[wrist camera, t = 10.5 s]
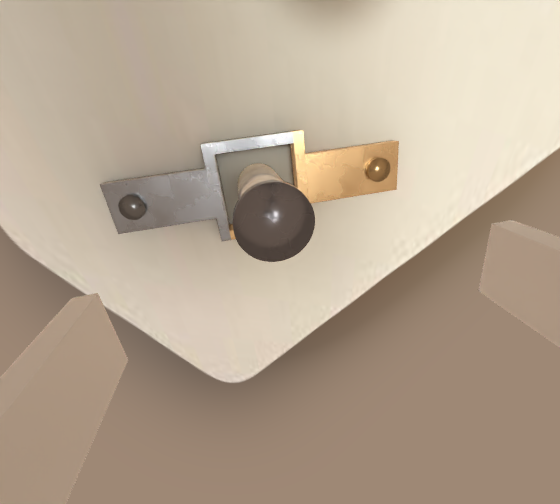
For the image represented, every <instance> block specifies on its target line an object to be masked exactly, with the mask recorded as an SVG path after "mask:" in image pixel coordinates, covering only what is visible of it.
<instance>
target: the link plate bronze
mask: <svg viewBox="0 0 560 504" xmlns="http://www.w3.org/2000/svg"><path fill="white" fill-rule="evenodd" d="M291 132H293V139H294V143H291V144H290V146H291V156H292V166H293V176H294V186H295V187H296V188H298V189H299V190H300V191H301V192H302V193H303V194H304V195H305V196H306V197H307V199H308V200H309V202H310V203H315V202H321V201H328V200H334V199H340V198H346V197H353V196H359V195H365V194H372V193H378V192H384V191H390V190H396V188H397V167H398V145H399V141H386V142H379V143H372V144H366V145H359V146H352V147H345V148H338V149H331V150H324V151H317V152H310V153H305V146H304V134H303V130H295V131H291ZM229 231H230V236H231V240H232V239H236V238H235V235H234V231H233V224H231V225H230V228H229Z"/></svg>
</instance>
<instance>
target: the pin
mask: <svg viewBox="0 0 560 504" xmlns="http://www.w3.org/2000/svg"><path fill="white" fill-rule="evenodd" d="M238 197H239V200H238V201H237V203H236V205H235V208H234V213H233V231H234V235H235V238H236V240H237V242H238V244H239V245H240V246H241V248H242V249H243V250H244V251H245V252H246V253H248V254H249V255H250V256H252V257H254V258H256V259H259V260H262V261H268V262H276V261H282V260H286V259H288V258H291V257H293V256H294V255H296V254H297V253H299V252H300V251H301V250H302V249H303V248H304V247H305V246H306V245H307V243H308V242H309V240H310V238H311V236H312V234H313V230H314V225H315V216H314V211H313V208H312V206H311V203H310V202H309V200H308V199H307V197H306V196H305V195H304V194H303V193H302V192H301V191H300V190H299V189H298V188H296V187H295V186H294V185H292V184H290V183H287V182H284V181H282V179H281V178H280V177H279V176H278V174H277V173H276V172H275V171H274V170H273V169H272V168H271V167H270V166H268V165H266V164H262V163H255V164H251V165H249V166H247V167H246V168H245V169H244V170H243V171H242V172H241V174H240V176H239V178H238Z"/></svg>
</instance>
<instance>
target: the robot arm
mask: <svg viewBox="0 0 560 504" xmlns="http://www.w3.org/2000/svg"><path fill="white" fill-rule="evenodd" d="M479 292H480V293H482V294H483V295H485V296H486V297H488V298H489V299H491V300H492V301H493V302H495V303H496V304H498V305H499V306H501V307H502V308H503V309H505V310H506V311H508V312H509V313H511V314H512V315H514V316H515V317H516V318H518V319H519V320H521V321H522V322H524V323H525V324H526V325H528V326H529V327H531V328H532V329H534V330H535V331H536V332H538V333H539V334H541V335H543V336H544V337H545V338H547V339H548V340H549V341H551V342H552V343H554V344H555V345H557V346H558V347H559V348H560V237H558V236H555V235H552V234H549V233H547V232H544V231H541V230H538V229H535V228H533V227H530V226H527V225H524V224H521V223H519V222H516V221H513V220H510V221H505V222H499V223H493V224H492V225H491V230H490V235H489V240H488V245H487V250H486V255H485V260H484V265H483V270H482V275H481V281H480V285H479ZM127 361H128V358H127V356H126V354H125V352H124V350H123V347H122V345H121V343H120V341H119V339H118V337H117V334H116V332H115V330H114V328H113V326H112V323H111V321H110V319H109V317H108V315H107V312H106V310H105V308H104V306H103V304H102V301H101V299H100V297H99V295H98V293H96V294H90V295H85V296H79V297H74V298H71V299H70V300H69V302H68V303H67V304H66V305H65V306H64V307H63V308H62V309H61V310H60V311H59V313H58V314H57V315H56V316H55V317H54V318H53V319H52V320H51V322H50V323H49V324H48V325H47V326H46V327H45V328H44V329H43V330H42V331H41V333H40V334H39V335H38V336H37V337H36V338H35V339H34V341H33V342H32V343H31V344H30V345H29V346H28V347H27V348H26V349H25V350H24V351H23V353H22V354H21V355H20V356H19V357H18V358H17V359H16V360H15V362H14V363H13V364H12V365H11V366H10V367H9V368H8V369H7V371H5V373H4V374H3V375H2V376H1V377H0V504H66V502H67V500H68V498H69V495H70V493H71V491H72V488H73V486H74V484H75V481H76V479H77V476H78V475H79V472H80V470H81V468H82V465H83V463H84V461H85V458H86V456H87V454H88V451H89V449H90V447H91V444H92V442H93V440H94V438H95V435H96V433H97V430H98V428H99V426H100V424H101V421H102V419H103V417H104V415H105V412H106V410H107V407H108V405H109V403H110V401H111V398H112V396H113V394H114V392H115V389H116V387H117V384H118V382H119V380H120V377H121V375H122V373H123V371H124V368H125V366H126V364H127Z"/></svg>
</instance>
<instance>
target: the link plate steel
mask: <svg viewBox="0 0 560 504" xmlns="http://www.w3.org/2000/svg"><path fill="white" fill-rule="evenodd" d="M291 143H294V139H293V132H291V131H287V132H280V133H273V134H266V135H258V136H251V137H244V138H237V139H229V140H222V141H215V142H207V143H202V144H201V150H202V154H203V159H204V163H205V168H200V169H193V170H186V171H179V172H172V173H165V174H158V175H151V176H145V177H138V178H131V179H124V180H117V181H110V182H104V183H102V184H100V186H101V189H102V192H103V194H104V197H105V199H106V202H107V205H108V207H109V210H110V213H111V215H112V218H113V221H114V223H115V226H116V229H117V231H118V234H121V233H128V232H134V231H140V230H146V229H153V228H159V227H165V226H171V225H178V224H184V223H190V222H196V221H203V220H209V219H215V218H217V222H218V227H219V231H220V236H221V240H222V241H226V240H231V236H230V231H229V228H230V224H229V219H228V214H227V210H226V205H225V200H224V195H223V190H222V185H221V180H220V175H219V170H218V165H217V160H216V155H215V154H221V153H228V152H235V151H242V150H249V149H256V148H263V147H270V146H277V145H284V144H291Z"/></svg>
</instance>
